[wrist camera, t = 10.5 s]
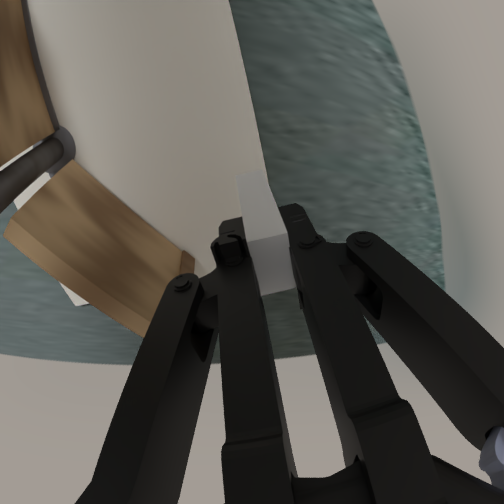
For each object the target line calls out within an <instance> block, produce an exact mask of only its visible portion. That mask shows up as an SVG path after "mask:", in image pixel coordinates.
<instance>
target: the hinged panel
mask: <svg viewBox="0 0 504 504" xmlns="http://www.w3.org/2000/svg"><path fill="white" fill-rule="evenodd" d="M3 236H4V237H5V238H6V239H7V240H8V241H9V242H10V243H12V244H13V245H14V246H15V247H16V248H17V249H19V250H20V251H21V252H22V253H23V254H25V255H26V256H27V257H28V258H30V259H31V260H32V261H33V262H34V263H36V264H37V265H38V266H39V267H41V268H42V269H43V270H45V271H46V272H47V273H48V274H50V275H51V276H52V277H54V278H55V279H56V280H58V281H59V282H60V283H62V284H63V285H64V286H66V287H67V288H69V289H70V290H71V291H73V292H74V293H75V294H77V295H78V296H80V297H81V298H83V299H84V300H85V301H87V302H88V303H90V304H91V305H93V306H94V307H96V308H97V309H99V310H100V311H102V312H103V313H105V314H106V315H108V316H109V317H111V318H112V319H114V320H115V321H117V322H119V323H120V324H122V325H123V326H125V327H126V328H128V329H130V330H131V331H133V332H135V333H136V334H138V335H140V336H141V337H143V338H144V337H145V334H146V332H147V330H148V327H149V325H150V323H151V320H152V318H153V316H154V313H155V311H156V309H157V306H158V304H159V302H160V300H161V297H162V295H163V293H164V291H165V288H166V286H167V285H168V283H169V282H170V281H171V280H172V279H173V278H174V277H176V276H178V275H180V274H184V273H193V274H194V269H195V258H194V257H192V256H191V255H190V254H189V253H187V252H186V251H185V250H183V251H181V250H179V249H178V248H177V247H176V246H174V245H173V244H172V243H171V242H169V241H168V240H167V239H166V238H164V237H163V236H162V235H161V234H160V233H158V232H157V231H156V230H155V229H153V228H152V227H151V226H150V225H149V224H147V223H146V222H145V221H144V220H143V219H141V218H140V217H139V216H138V215H137V214H135V213H134V212H133V211H132V210H131V209H129V208H128V207H127V206H126V205H125V204H123V203H122V202H121V201H120V200H119V199H118V198H116V197H115V196H114V195H113V194H112V193H111V192H109V191H108V190H107V189H106V188H105V187H104V186H102V185H101V184H100V183H99V182H98V181H97V180H95V179H94V178H93V177H92V176H91V175H90V174H89V173H87V172H86V171H85V170H84V169H83V168H82V167H81V166H80V165H78V164H77V163H76V162H75V161H74V160H73V159H72V160H71V161H70V162H69V163H68V164H66V165H65V166H64V167H63V168H62V169H61V170H60V171H58V172H57V173H56V174H55V175H54V176H53V177H52V178H51V179H50V180H49V181H47V182H46V183H45V184H44V185H43V186H42V187H41V188H40V189H39V190H38V191H37V192H36V193H35V194H34V195H33V196H32V197H31V198H30V199H29V200H28V201H27V202H26V203H25V204H24V205H23V206H22V207H21V208H20V209H19V210H18V211H17V212H16V213H15V214H14V215H13V216H12V217H11V219H10V221H9V223H8V225H7V228H6V230H5V232H4V234H3Z"/></svg>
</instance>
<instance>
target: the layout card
mask: <svg viewBox="0 0 504 504" xmlns="http://www.w3.org/2000/svg"><path fill="white" fill-rule="evenodd" d="M21 4H22V10H23V16H24V22H25V27H26V32H27V36H28V41H29V46H30V50H31V54H32V58H33V62H34V66H35V70H36V73H37V77H38V81H39V84H40V88H41V91H42V94H43V97H44V101H45V104H46V107H47V110H48V113H49V116H50V119H51V122H52V125H53V128H54V130H55V132H54V133H52V134H50V135H49V136H47V137H45V138H44V139H42V140H40V141H39V142H37V143H36V144H34V145H32V146H31V147H29V148H28V149H26V150H25V151H23V152H22V153H20V154H19V155H17V156H16V157H14V158H13V159H11V160H10V161H8V162H7V163H6V164H4V165H3V166H1V167H0V171H1V170H3V169H4V168H5V167H7V166H8V165H10V164H11V163H12V162H14V161H15V160H17V159H18V158H19V157H21V156H22V155H24V154H25V153H27V152H28V151H30V150H31V149H33V148H34V147H36V146H38V145H39V144H41V143H42V142H44V141H45V140H47V139H49V138H57V139H59V140H60V141H61V143H62V144H63V147H64V154H63V156H62V158H61V159H60V160H59V161H58V162H57V163H56V164H54V165H53V166H52V167H51V168H49V169H48V170H47V171H46V172H45V173H43V174H42V175H41V176H40V177H39V178H38V179H37V180H35V181H34V182H33V183H32V184H31V185H30V186H29V187H28V188H26V189H25V190H24V191H23V192H22V193H21V194H20V195H19V196H18V197H17V198H16V199H15V200H14V203H15V205H16V207H17V209H18V210H19V209H20V208H21V207H22V206H23V205H24V204H25V203H26V202H27V201H28V200H29V199H30V198H31V197H32V196H33V195H34V194H35V193H36V192H37V191H38V190H39V189H40V188H41V187H42V186H43V185H44V184H45V183H46V182H47V181H49V180H50V179H51V178H52V177H53V176H54V175H55V174H56V173H57V172H58V171H60V170H61V169H62V168H63V167H64V166H65V165H66V164H68V163H69V162H70V161H71V160H72V159H73V160H74V161H75V162H76V163H77V164H78V165H80V166H81V167H82V168H83V169H84V170H85V171H86V172H87V173H89V174H90V175H91V176H92V177H93V178H94V179H95V180H97V181H98V182H99V183H100V184H101V185H102V186H104V187H105V188H106V189H107V190H108V191H109V192H111V193H112V194H113V195H114V196H115V197H116V198H118V199H119V200H120V201H121V202H122V203H123V204H125V205H126V206H127V207H128V208H129V209H131V210H132V211H133V212H134V213H135V214H137V215H138V216H139V217H140V218H141V219H143V220H144V221H145V222H146V223H147V224H149V225H150V226H151V227H152V228H153V229H155V230H156V231H157V232H158V233H160V234H161V235H162V236H163V237H164V238H166V239H167V240H168V241H169V242H171V243H172V244H173V245H174V246H176V247H177V248H178V249H179V250H181V251H183V250H185V251H186V252H187V253H189V254H190V255H191V256H192V257H194V258H195V269H194V274H195V275H197V276H198V278H201V277H203V276H205V275H207V274H209V273H210V272H212V271H213V270H214V269H215V268H216V262H215V260H214V257H213V254H212V251H211V248H210V246H211V243H212V242H213V241H214V240H215V239H216V238H217V237H219V226H220V224H221V223H222V221H225V220H229V219H233V218H237V217H241V216H242V212H241V206H240V200H239V195H238V189H237V183H236V177H235V176H236V175H240V174H244V173H248V172H253V171H257V170H263V172H264V175H265V177H266V179H267V182H268V178H267V173H266V168H265V163H264V158H263V153H262V148H261V143H260V138H259V133H258V128H257V123H256V119H255V114H254V109H253V105H252V100H251V95H250V91H249V86H248V82H247V77H246V73H245V68H244V64H243V59H242V55H241V51H240V46H239V42H238V38H237V33H236V29H235V25H234V21H233V17H232V12H231V8H230V4H229V0H21ZM268 184H269V183H268ZM60 284H61V285H62V287H63V288H64V290H65V291H66V293H67V294H68V296H69V297H70V299H71V300H72V302H73V303H74V304H75V306H79V305H84V304H89V303H88V302H87V301H85V300H84V299H83V298H81V297H80V296H78V295H77V294H75V293H74V292H73V291H71V290H70V289H69V288H67V287H66V286H64V285H63V284H62V283H60Z"/></svg>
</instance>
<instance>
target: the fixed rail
mask: <svg viewBox="0 0 504 504" xmlns="http://www.w3.org/2000/svg"><path fill="white" fill-rule="evenodd" d="M54 132H55V130H54V128H53V125H52V122H51V119H50V116H49V113H48V110H47V107H46V104H45V101H44V97H43V94H42V91H41V88H40V84H39V81H38V77H37V73H36V70H35V66H34V62H33V58H32V54H31V50H30V46H29V41H28V36H27V32H26V27H25V22H24V16H23V10H22V4H21V0H0V167H1V166H3V165H4V164H6V163H7V162H8V161H10V160H11V159H13V158H14V157H16V156H17V155H19V154H20V153H22V152H23V151H25V150H26V149H28V148H29V147H31V146H32V145H34V144H36V143H37V142H39V141H40V140H42V139H44V138H45V137H47V136H49V135H50V134H52V133H54ZM63 154H64V147H63V144H62V143H61V141H60V140H59V139H57V138H49V139H47V140H45V141H44V142H42V143H41V144H39V145H38V146H36V147H34V148H33V149H31V150H30V151H28V152H27V153H25V154H24V155H22V156H21V157H19V158H18V159H17V160H15V161H14V162H12V163H11V164H10V165H8V166H7V167H5V168H4V169H3V170H1V171H0V213H1V212H2V211H3V210H4V209H5V208H6V207H7V206H8V205H9V204H11V203H12V202H13V201H14V200H15V199H16V198H17V197H18V196H19V195H20V194H21V193H22V192H23V191H24V190H25V189H26V188H28V187H29V186H30V185H31V184H32V183H33V182H34V181H35V180H37V179H38V178H39V177H40V176H41V175H42V174H43V173H45V172H46V171H47V170H48V169H49V168H51V167H52V166H53V165H54V164H56V163H57V162H58V161H59V160H60V159H61V158H62V156H63Z"/></svg>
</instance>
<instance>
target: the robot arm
mask: <svg viewBox="0 0 504 504" xmlns="http://www.w3.org/2000/svg"><path fill="white" fill-rule="evenodd" d="M235 177H236V183H237V189H238V195H239V200H240V206H241V212H242V216H241V217H237V218H233V219H229V220H225V221H222V223H221V224H220V226H219V237H217V238H216V239H215V240H214V241H213V242H212V243H211V246H210V248H211V251H212V254H213V257H214V260H215V262H216V268H215V269H214V270H213V271H212V272H210V273H209V274H207V275H205V276H203V277H201V278H198V276H197V275H195V274H193V273H184V274H180V275H178V276H176V277H174V278H173V279H172V280H171V281H170V282H169V283H168V285H167V286H166V288H165V291H164V293H163V295H162V297H161V300H160V302H159V304H158V306H157V309H156V311H155V313H154V316H153V318H152V320H151V323H150V325H149V327H148V330H147V332H146V334H145V337H144V339H143V341H142V344H141V346H140V349H139V351H138V354H137V356H136V359H135V361H134V363H133V366H132V368H131V371H130V374H129V376H128V379H127V381H126V384H125V386H124V389H123V392H122V394H121V397H120V400H119V402H118V405H117V408H116V410H115V413H114V416H113V418H112V421H111V424H110V427H109V430H108V433H107V436H106V438H105V441H104V444H103V447H102V450H101V453H100V456H99V459H98V462H97V465H96V468H95V472H94V475H93V478H92V481H91V483H90V484H89V485H88V486H87V488H86V489H85V491H84V492H83V493H82V495H81V496H80V497H79V499H78V500H77V501H76V503H75V504H177V503H178V500H179V497H180V492H181V488H182V483H183V479H184V475H185V470H186V466H187V462H188V457H189V453H190V449H191V445H192V440H193V436H194V432H195V427H196V423H197V419H198V415H199V411H200V406H201V402H202V398H203V394H204V389H205V386H206V382H207V378H208V373H209V369H210V365H211V361H212V357H213V353H214V349H215V345H216V341H217V337H218V333H219V341H220V359H221V375H222V391H223V405H224V418H225V431H226V441H225V443H224V445H223V446H222V451H221V461H222V473H223V484H224V495H225V503H224V504H504V348H503V347H502V346H501V345H500V344H499V343H498V342H497V341H496V340H495V339H494V338H493V337H492V336H491V335H490V334H489V333H488V332H487V331H486V330H485V329H484V328H483V327H482V326H481V325H480V324H479V323H478V322H477V321H476V320H475V319H474V318H473V317H472V316H471V315H470V314H469V313H468V312H466V311H465V310H464V309H463V308H462V307H461V306H460V305H459V304H458V303H457V302H456V301H454V300H453V299H452V298H451V297H450V296H449V295H448V294H447V293H446V292H445V291H443V290H442V289H441V288H440V287H439V286H438V285H437V284H435V283H434V282H433V281H432V280H431V279H430V278H429V277H427V276H426V275H425V274H424V273H423V272H422V271H420V270H419V269H418V268H417V267H416V266H414V265H413V264H412V263H411V262H410V261H408V260H407V259H406V258H405V257H404V256H402V255H401V254H400V253H399V252H397V251H396V250H395V249H394V248H392V247H391V246H390V245H389V244H387V243H386V242H385V241H384V240H382V239H381V238H380V237H379V236H377V235H375V234H374V233H371V232H366V231H361V232H356V233H353V234H351V235H350V236H349V237H348V238H347V240H346V243H329V242H326V241H325V239H324V238H323V237H322V236H321V235H318V234H317V233H316V231H315V229H314V227H313V225H312V223H311V221H310V220H309V218H308V216H307V214H306V212H305V210H304V208H303V207H302V206H300V205H298V204H296V203H294V204H290V205H286V206H281V207H277V204H276V202H275V199H274V197H273V194H272V192H271V189H270V187H269V184H268V182H267V179H266V177H265V175H264V172H263V170H257V171H253V172H248V173H244V174H240V175H236V176H235ZM296 285H297V290H298V296H299V303H300V309H303V312H304V316H305V319H306V322H307V325H308V329H309V332H310V335H311V339H312V342H313V345H314V349H315V352H316V355H317V359H318V362H319V365H320V369H321V372H322V376H323V379H324V382H325V386H326V390H327V393H328V396H329V400H330V404H331V407H332V411H333V414H334V418H335V421H336V425H337V429H338V432H339V436H340V440H341V444H342V449H343V456H344V461H345V466H346V468H345V469H343V470H341V471H339V472H337V473H335V474H333V475H331V476H329V477H325V478H298V475H297V471H296V466H295V462H294V458H293V454H292V448H291V444H290V439H289V433H288V428H287V423H286V418H285V413H284V407H283V403H282V397H281V392H280V387H279V382H278V377H277V372H276V367H275V362H274V356H273V351H272V346H271V341H270V336H269V331H268V326H267V321H266V315H265V310H264V305H263V301H262V298H261V296H263V295H267V294H272V293H276V292H280V291H284V290H289V289H293V288H296ZM363 315H364V316H365V317H366V319H367V320H368V321H369V322H370V323H371V324H372V326H373V327H374V328H375V329H376V330H377V331H378V333H379V334H380V335H381V336H382V337H383V338H384V340H385V341H386V342H387V343H388V344H389V345H390V347H391V348H392V349H393V350H394V351H395V352H396V354H397V355H398V356H399V357H400V359H401V360H402V361H403V362H404V363H405V365H406V366H407V367H408V368H409V369H410V371H411V372H412V373H413V374H414V375H415V377H416V378H417V379H418V380H419V382H421V384H422V385H423V386H424V388H425V389H426V390H427V391H428V393H429V394H430V395H431V396H432V398H433V399H434V400H435V401H436V403H437V404H438V405H439V406H440V407H441V409H442V410H443V411H444V413H445V414H446V415H447V417H448V418H449V419H450V420H451V422H452V423H453V424H454V426H455V427H456V428H457V429H458V430H459V431H460V433H461V434H462V435H463V436H464V437H465V439H467V440H468V441H469V442H470V443H471V444H472V445H474V446H475V447H476V448H477V449H479V450H480V451H481V455H480V460H479V467H480V468H481V470H483V471H485V472H486V473H487V474H488V475H489V476H490V479H491V482H492V485H491V484H489V483H486V482H484V481H482V480H480V479H478V478H476V477H474V476H472V475H470V474H468V473H466V472H464V471H462V470H461V469H459V468H457V467H455V466H453V465H451V464H449V463H447V462H445V461H443V460H442V459H440V458H438V457H436V456H433V455H431V454H430V452H429V449H428V446H427V444H426V441H425V438H424V435H423V433H422V430H421V428H420V425H419V423H418V420H417V418H416V415H415V413H414V411H413V409H412V407H411V405H410V404H409V403H408V401H407V400H404V399H401V398H400V397H399V395H398V393H397V390H396V388H395V386H394V384H393V381H392V379H391V376H390V374H389V372H388V369H387V367H386V365H385V362H384V360H383V358H382V356H381V353H380V351H379V349H378V347H377V344H376V342H375V340H374V338H373V336H372V333H371V331H370V329H369V327H368V325H367V323H366V320H365V318H364V316H363Z"/></svg>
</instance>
